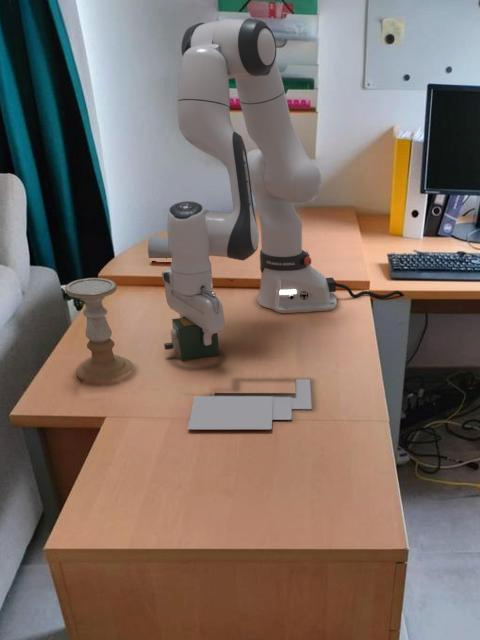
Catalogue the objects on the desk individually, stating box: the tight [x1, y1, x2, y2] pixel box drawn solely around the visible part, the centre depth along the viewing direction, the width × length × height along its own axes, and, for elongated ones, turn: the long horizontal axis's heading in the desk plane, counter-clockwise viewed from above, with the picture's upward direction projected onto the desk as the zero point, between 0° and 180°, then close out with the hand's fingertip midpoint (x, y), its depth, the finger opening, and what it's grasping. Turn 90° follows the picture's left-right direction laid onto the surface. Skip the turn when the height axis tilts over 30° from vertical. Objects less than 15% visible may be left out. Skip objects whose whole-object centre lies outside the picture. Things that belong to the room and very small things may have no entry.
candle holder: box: [64, 277, 133, 382], centre depth 157 cm, size 12×12×20 cm
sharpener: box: [163, 317, 220, 362], centre depth 167 cm, size 12×6×8 cm, turn 115°
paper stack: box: [186, 378, 313, 431], centre depth 153 cm, size 23×25×1 cm
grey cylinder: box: [147, 236, 172, 259], centre depth 227 cm, size 11×8×8 cm
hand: (197, 338), depth 168 cm, fingers closed on sharpener, 6 cm apart
